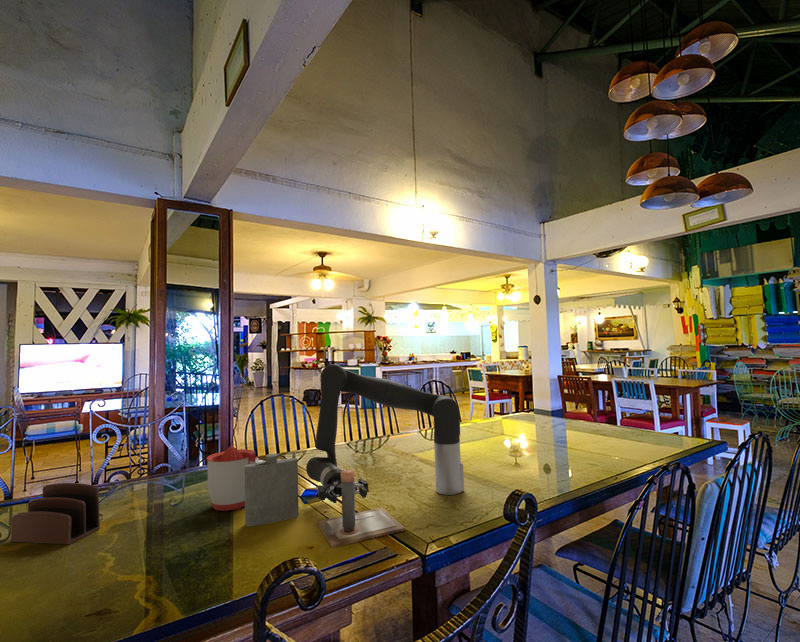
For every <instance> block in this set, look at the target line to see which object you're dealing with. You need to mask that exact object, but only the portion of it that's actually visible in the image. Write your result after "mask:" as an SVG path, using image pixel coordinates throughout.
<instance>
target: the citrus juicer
mask: <svg viewBox="0 0 800 642" xmlns="http://www.w3.org/2000/svg"><path fill="white" fill-rule="evenodd" d="M256 455H257V454H256V451H255V450H253V449H247V448H245V449H243V448H242V449H237V447H235V446H233V445H229V447H228V448H227V449H226V450H224V451H219V452H215V453H212V454H210V455H208V456H207V457H206V461H207V492H208V494H209V495H208V496H209V499H210V503H211V505H212V507H213V509H214V510H216V511H223V512H224V511H232V510H240V509H242V508H245V465H248V464H255V463H256V458H257V457H256Z"/></svg>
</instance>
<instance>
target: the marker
mask: <svg viewBox="0 0 800 642" xmlns="http://www.w3.org/2000/svg"><path fill="white" fill-rule="evenodd" d="M354 481H355V470H353V469H343V470H342V471H341V488H342V496H341V514H342V515H341V516H342V523H343V527H344V532H352V531H354V530H355V513H356V500H355V499H356V498H355V496H356V494H355V493H354Z"/></svg>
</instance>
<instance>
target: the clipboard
mask: <svg viewBox="0 0 800 642" xmlns="http://www.w3.org/2000/svg"><path fill="white" fill-rule="evenodd" d="M316 525H317V526H318V528H319V529H320V532H322V534H323V536H324V537H325V539H326V541H327V543H328V544H329V546H330V547H331V548H334V549H335V548H336V547H340V546H341V547H342V546H346V545H350V544H354V543H358V542H361V541H362V540H363V541H366V539H367V540H370V539H369V538H371V539H376V538H379V537H378V536H380V537H383V536H382V535H384V536H388V535H391V534H392V535H393V534H395V533H394V532H397V533H399V532H398V531H401V532H405V531H404V530H406V529H405V527H404V526H403V525H402V524H401V523H400V522H399V521H398V520H397V519H395V517H393V516H392V515H391V514H390V513H389V512H388V511H387V510H385V509H384V508H383V507H378V508H373V509H370V510H364V511H358V512H355V530H354V531H352V532H344V527H343V523H342V515H340V516H335V517H331V518H330V517H329V518H326V519H325V518H324V519H322V520H321V519H320V520H317V521H316ZM375 537H376V538H375ZM363 541H362V542H363Z"/></svg>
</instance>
